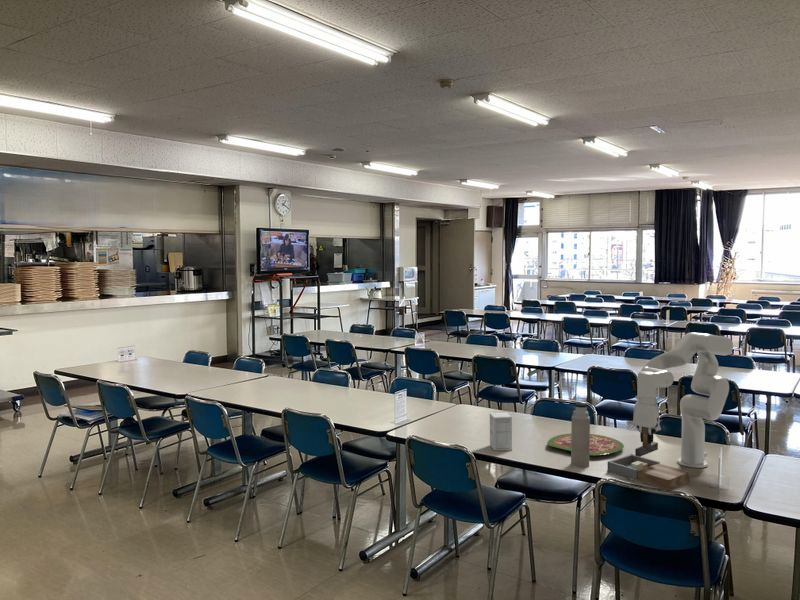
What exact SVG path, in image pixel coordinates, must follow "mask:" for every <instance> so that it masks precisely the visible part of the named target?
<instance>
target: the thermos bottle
mask: <svg viewBox="0 0 800 600" xmlns="http://www.w3.org/2000/svg"><path fill="white" fill-rule="evenodd" d="M574 405H575V410H572V412H573V413H572V415H571V429H570V430H571V452H570V465H571V466H572V467H575V468H579V469H580V468H581V469H585V468H589V467H590V455H589V449H590V434H591V416H590V415H589V411H588V410H587V404H585V403H579V402H578V403H575V404H574Z"/></svg>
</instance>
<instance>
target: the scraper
mask: <svg viewBox="0 0 800 600" xmlns="http://www.w3.org/2000/svg"><path fill="white" fill-rule="evenodd" d="M642 434H643V442H641V443H642V444H641V445H642V446H640V447H639V446H638V447H636V448H635V452H634V453H635V454H634V455H635V456H638V457H643V456H645V455H647V454H650V453H652V452H656V451H657V450H659V442H658V441H657V442H656V441H653V442H652V443H650V444H648V443H647V435H648V434H649V430H648V428H646V427H642Z"/></svg>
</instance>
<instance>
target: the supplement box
mask: <svg viewBox="0 0 800 600" xmlns="http://www.w3.org/2000/svg"><path fill="white" fill-rule="evenodd" d="M512 419H513V418H512V416H511V415H510V414H509V412H490V413H489V446H490V448H491V447H492V448H493V449H494V450H506V451H512V450H513V427H512V426H513V425H512V424H513V421H512ZM492 448H491V449H492ZM493 449H492V450H493Z"/></svg>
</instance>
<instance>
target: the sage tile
mask: <svg viewBox="0 0 800 600" xmlns="http://www.w3.org/2000/svg"><path fill="white" fill-rule="evenodd" d="M631 468H634V469H637V470H638V471H639V470H642V469H643V462H639V461H637V462H634V463H632V464H631Z"/></svg>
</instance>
